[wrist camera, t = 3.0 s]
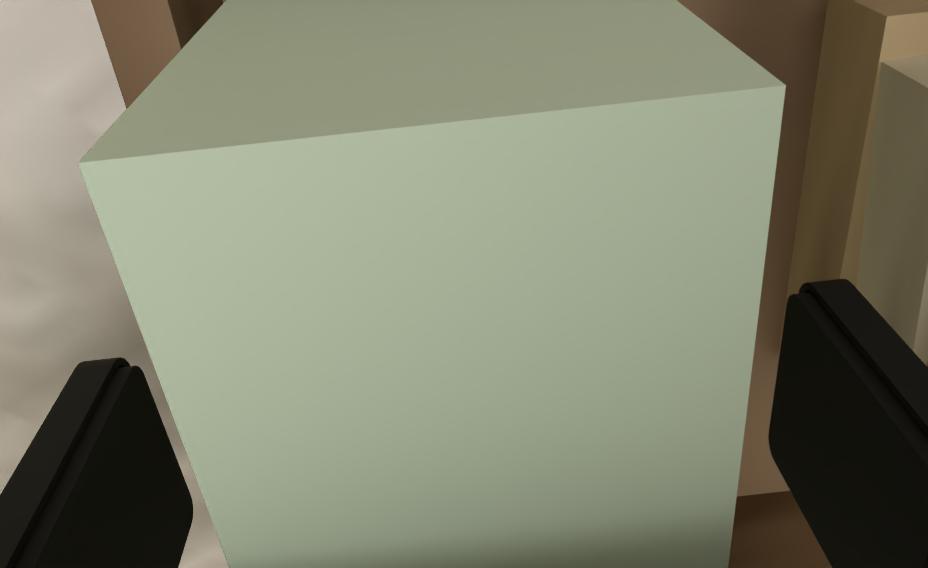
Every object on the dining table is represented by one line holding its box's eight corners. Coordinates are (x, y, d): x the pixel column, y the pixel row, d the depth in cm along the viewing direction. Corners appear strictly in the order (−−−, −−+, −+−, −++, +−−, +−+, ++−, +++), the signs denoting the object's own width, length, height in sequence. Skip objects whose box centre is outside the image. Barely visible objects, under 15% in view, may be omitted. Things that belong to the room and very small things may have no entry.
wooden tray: (1379, -468, 12) (1711, -559, 9) (1022, 474, 22) (1120, 582, 19) (84, -323, 12) (-28, -364, 9) (324, 549, 22) (310, 669, 19)
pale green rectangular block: (541, -105, 13) (785, 85, 4) (562, 443, 19) (681, 954, 11) (297, -78, 13) (78, 163, 4) (398, 460, 19) (386, 986, 11)
